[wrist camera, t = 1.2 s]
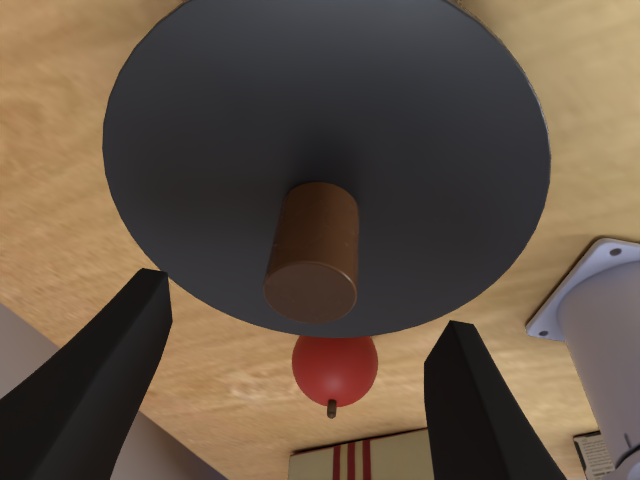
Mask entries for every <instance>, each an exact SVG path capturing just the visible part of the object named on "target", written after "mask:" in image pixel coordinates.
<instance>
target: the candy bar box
mask: <svg viewBox="0 0 640 480" xmlns="http://www.w3.org/2000/svg"><path fill="white" fill-rule="evenodd" d="M573 441H574V444H575V447H576V450H577V453H578V455H579V458H580V461H581V464H582V467H583V470H584V473H585V476H586V479H587V480H602V478H601V477H602V476H604V475H606V474H609V473H611V472H613V471H615V468H614V466H613V463H612V460H611V458H610V455H609V453H608V450H607V448H606V445H605V442H604V440H603V437H602V435H601V432H596V433H592V434H588V435H583V436H579V437H575V438H573Z"/></svg>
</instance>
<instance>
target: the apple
mask: <svg viewBox="0 0 640 480" xmlns="http://www.w3.org/2000/svg"><path fill="white" fill-rule="evenodd" d="M292 369H293V374H294V377H295V380H296V382H297V384H298V386H299V387H300V389H301V390H302V391H303V393H304V394H305V395H306V396H308V397H309V398H310V399H311V400H313V401H315V402H316V403H318V404H321V405H324V406H327V416H328V417H329V418H331V419H332V418H334V417H335V416H336V407H343V406H347V405H350V404H352V403H354V402H356V401H358V400H359V399H361V398H362V397H363V396H364V395H365V394H366V393H367V392H368V391H369V389H370V388H371V386H372V385H373V383H374V380H375V378H376V375H377V370H378V356H377V351H376V348H375V345H374V343H373V341H372V339H371V338H370V336H365V337H355V338H324V337H310V336H302V335H300V337H299V339H298V340H297V342H296V345H295V347H294V350H293V355H292Z"/></svg>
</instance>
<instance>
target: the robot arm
mask: <svg viewBox="0 0 640 480" xmlns="http://www.w3.org/2000/svg"><path fill="white" fill-rule="evenodd" d="M615 248H616V249H615ZM613 249H614V250H613ZM172 322H173V320H172V311H171V301H170V291H169V282H168V272H163V271H157V270H151V269H145V268H142V269H140V270H139V271H138V272H137V273H136V274H135V275H134V276H133V277H132V278H131V279H130V281H129V282H128V283H127V284H126V285H125V286H124V287H123V288H122V289H121V290H120V291H119V292H118V293H117V295H116V296H115V297H114V298H113V299H112V300H111V301H110V302H109V303H108V304H107V305H106V306H105V307H104V308H103V309H102V310H101V311H100V312H99V313H98V314H97V315H96V316H95V317H94V318H93V319H92V320H91V321H90V322H89V323H88V324H87V325H86V326H85V327H84V328H82V329H81V330H80V331H79V332H78V333H77V334H76V335H75V336H74V337H73V338H72V339H71V340H70V341H69V342H68V343H67V344H66V345H64V346H63V347H62V348H61V349H60V350H59V351H58V352H56V353H55V354H54V355H53V356H52V357H51V358H50V359H49V360H48V361H46V363H44V364H43V365H42V366H41V367H40V368H38V369H37V370H36V371H35V372H34V373H33V374H31V375H30V376H29V377H28V378H27V379H25V380H24V381H23V382H22V383H21V384H19V385H18V386H17V387H15V388H14V389H13V390H12V391H10V392H9V393H8V394H7V395H5V396H4V397H3V398H1V399H0V480H110V477H111V475H112V471H113V469H114V466H115V463H116V460H117V458H118V455H119V453H120V450H121V448H122V445H123V443H124V441H125V438H126V436H127V434H128V432H129V430H130V427H131V425H132V423H133V421H134V418H135V416H136V414H137V412H138V410H139V407H140V405H141V403H142V401H143V398H144V396H145V394H146V392H147V389H148V387H149V385H150V383H151V380H152V378H153V376H154V374H155V371H156V369H157V367H158V365H159V362H160V360H161V357H162V354H163V351H164V348H165V345H166V342H167V338H168V335H169V332H170V329H171V325H172ZM525 329H526V332H527V334H528V335H529V336H533V337H539V338H544V339H550V340H556V341H562V342H566V344H567V347H568V349H569V352H570V355H571V357H572V360H573V362H574V365H575V367H576V370H577V373H578V375H579V378H580V380H581V383H582V386H583V388H584V391H585V393H586V396H587V398H588V401H589V404H590V406H591V409H592V411H593V414H594V417H595V419H596V422H597V424H598V427H599V429H600V432H601V435H602V437H603V440H604V442H605V445H606V448H607V450H608V453H609V455H610V458H611V460H612V463H613V466H614V468H615V471H613V472H611V473H609V474H606V475H604V476H602V477H601V478H602V480H640V244H637V243H632V242H627V241H621V240H616V239H611V238H603V239H600V240H598V241H596V242H595V243H594V244H593V245H592V246H591V248H590V249H589V250H588V251H587V252H586V254H585V255H584V256H583V257H582V259H581V260H580V261H579V262H578V263H577V265H576V266H575V267H574V268H573V269H572V271H571V272H570V273H569V274H568V276H567V277H566V278H565V279H564V280H563V282H562V283H561V284H560V285H559V287H558V288H557V289H556V290H555V291H554V293H553V294H552V295H551V296H550V298H549V299H548V300H547V301H546V302H545V304H544V305H543V306H542V307H541V308H540V310H539V311H538V312H537V313H536V315H535V316H534V317H533V318H532V319H531V321H530V322H529V323H528V324H527V326H526V327H525ZM424 403H425V411H426V420H427V428H428V436H429V443H430V451H431V458H432V466H433V474H434V480H567V479H566V477H565V476H564V475H563V473H562V472H561V470H560V469H559V467H558V466H557V464H556V463H555V462H554V460H553V459H552V457H551V456H550V454H549V453H548V451H547V450H546V448H545V447H544V445H543V444H542V442H541V440H540V439H539V437H538V436H537V434H536V433H535V431H534V430H533V428H532V426H531V425H530V423H529V422H528V420H527V418H526V417H525V415H524V413H523V412H522V410H521V408H520V407H519V405H518V403H517V402H516V400H515V398H514V396H513V395H512V393H511V391H510V390H509V388H508V386H507V384H506V383H505V381H504V379H503V377H502V375H501V374H500V372H499V370H498V368H497V366H496V365H495V363H494V361H493V359H492V357H491V355H490V354H489V352H488V350H487V348H486V346H485V344H484V342H483V341H482V339H481V337H480V335H479V333H478V331H477V329H476V328H475V326H474V324H470V323H464V322H458V321H452V320H450V321H449V323H448V325H447V326H446V328H445V329H444V331H443V333H442V334H441V336H440V338H439V339H438V341H437V343H436V344H435V346H434V347H433V349H432V351H431V352H430V354H429V356H428V357H427V359H426V361H425V362H424Z"/></svg>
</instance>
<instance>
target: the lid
mask: <svg viewBox="0 0 640 480" xmlns="http://www.w3.org/2000/svg"><path fill="white" fill-rule="evenodd" d="M102 150H103V159H104V167H105V174H106V178H107V182H108V185H109V189H110V193H111V196H112V198H113V201H114V203H115V205H116V208H117V210H118V212H119V215H120V217H121V219H122V220H123V222H124V224H125V226H126V227H127V229H128V231H129V232H130V234H131V236H132V237H133V238H134V240H135V241H136V242H137V244H138V245H139V246H140V248H141V249H142V250H143V252H144V253H145V254H146V255H147V256H148V257H149V258H150V259H151V261H152V262H153V263H154V264H155V265H156V266H157V267H158V268H159V269H160V270H161V271H163V272H168V277H169V278H170V279H171V280H173V281H174V282H175V283H176V284H177V285H179V286H180V287H182V288H183V289H184V290H186V291H187V292H189V293H190V294H191V295H193V296H194V297H196V298H198V299H199V300H201V301H203V302H204V303H206V304H208V305H210V306H211V307H213V308H215V309H217V310H219V311H221V312H224V313H226V314H228V315H230V316H232V317H235V318H237V319H240V320H243V321H245V322H248V323H250V324H253V325H257V326H260V327H264V328H267V329H271V330H275V331H280V332H284V333H289V334H295V335H302V336H310V337H324V338H355V337H365V336H375V335H381V334H386V333H391V332H397V331H401V330H404V329H408V328H411V327H415V326H419V325H421V324H424V323H427V322H429V321H432V320H434V319H437V318H439V317H442V316H444V315H446V314H448V313H450V312H452V311H454V310H456V309H458V308H459V307H461V306H463V305H464V304H466V303H468V302H469V301H471V300H472V299H474V298H476V297H477V296H478V295H480V294H481V293H482V292H483V291H485V290H486V289H487V288H489V287H490V286H491V285H492V284H494V283H495V282H496V281H497V280H498V279H499V278H500V277H501V276H502V275H503V274H504V273H505V272H506V271H507V270H508V269H509V268H510V267H511V265H512V264H513V263H514V262H515V260H516V259H517V258H518V256H519V255H520V254H521V253H522V251H523V250H524V248H525V247H526V245H527V243H528V242H529V240H530V238H531V236H532V235H533V233H534V231H535V229H536V227H537V224H538V222H539V219H540V217H541V214H542V212H543V209H544V206H545V202H546V197H547V193H548V188H549V184H550V171H551V150H550V141H549V133H548V127H547V124H546V121H545V118H544V114H543V111H542V108H541V104H540V101H539V99H538V97H537V95H536V93H535V91H534V89H533V87H532V85H531V83H530V82H529V80H528V78H527V76H526V74H525V72H524V70H523V69H522V67H521V66H520V65H519V63H518V62H517V61H516V59H515V58H514V57H513V55H512V54H511V53H510V51H509V50H508V49H507V47H506V46H505V45H504V43H503V42H502V41H501V40H500V39H499V38H498V37H497V36H496V35H495V34H494V33H493V32H492V31H491V30H490V29H488V28H487V27H486V26H485V25H484V24H483V23H482V22H481V21H480V20H479V19H478V18H477V17H476V16H474V15H473V14H471V13H470V12H468V11H467V10H465V9H464V8H463V7H461V6H460V5H458V4H457V3H455V2H454V1H452V0H185V1H184V2H183V3H182V4H180V5H179V6H178V7H176V8H175V9H174V10H173V11H171V12H170V13H169V14H167V15H166V16H165V17H163V18H162V19H161V20H160V21H159V22H158V23H157V24H156V25H155V26H154V27H153V28H152V29H151V30H150V31H149V32H148V33H147V34H146V36H145V37H144V38H143V39H142V40H141V41H140V42H139V43H138V44H137V45H136V46H135V48H134V49H133V51H132V53H131V54H130V56H129V57H128V59H127V61H126V62H125V64H124V65H123V67H122V68H121V70H120V72H119V74H118V76H117V79H116V81H115V84H114V86H113V89H112V91H111V94H110V96H109V100H108V104H107V109H106V114H105V118H104V123H103V146H102Z"/></svg>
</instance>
